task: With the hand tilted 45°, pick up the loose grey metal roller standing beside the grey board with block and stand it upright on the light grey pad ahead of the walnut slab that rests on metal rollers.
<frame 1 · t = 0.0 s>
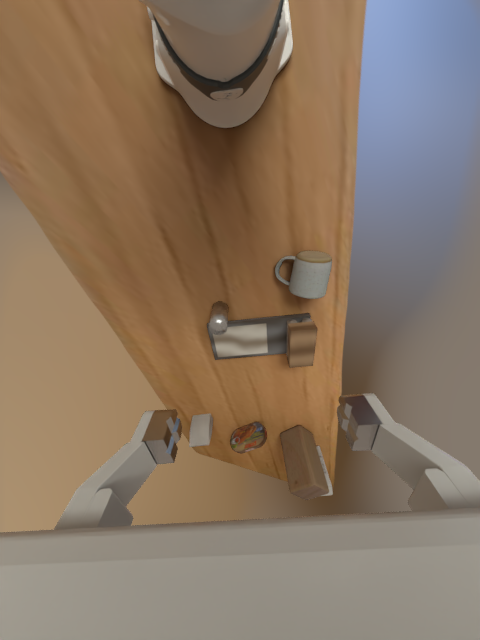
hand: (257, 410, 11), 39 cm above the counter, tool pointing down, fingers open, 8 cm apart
supplement box: (310, 451, 96), on the counter
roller: (220, 308, 53), on the counter
grey board with block: (259, 336, 58), on the counter
tea bag: (203, 416, 79), on the counter
tin: (247, 426, 84), on the counter
wooden block: (296, 432, 87), on the counter
ceramic mug: (298, 268, 47), on the counter
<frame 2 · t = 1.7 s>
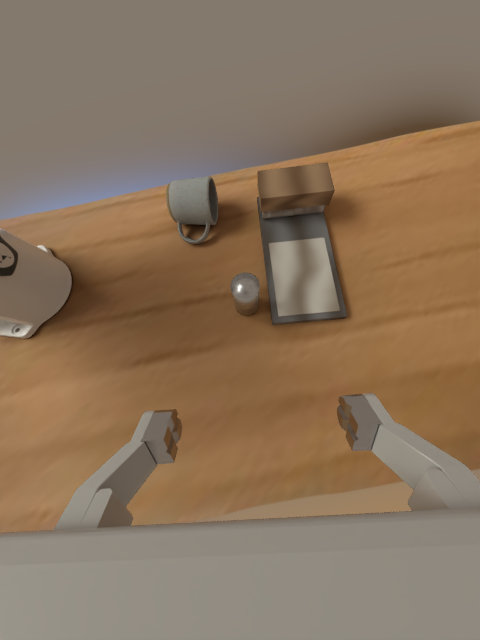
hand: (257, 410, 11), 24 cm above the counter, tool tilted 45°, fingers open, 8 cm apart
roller: (246, 305, 37), on the counter
grey board with block: (296, 254, 39), on the counter
ceramic mug: (199, 223, 43), on the counter
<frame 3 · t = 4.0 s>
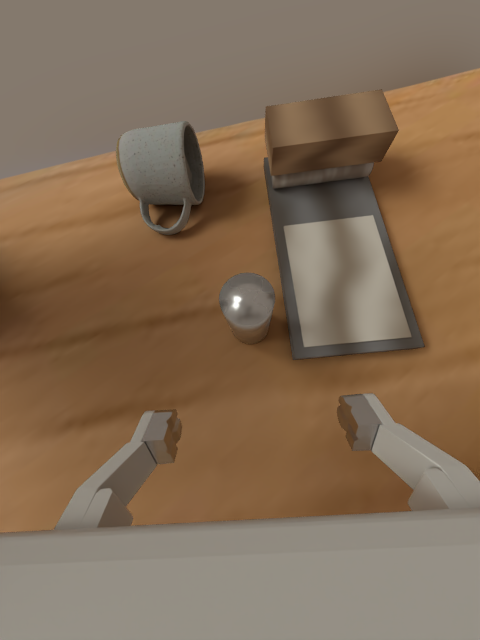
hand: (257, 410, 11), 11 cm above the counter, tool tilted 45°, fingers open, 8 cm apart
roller: (250, 325, 23), on the counter
grey board with block: (327, 243, 25), on the counter
ceramic mug: (176, 204, 29), on the counter
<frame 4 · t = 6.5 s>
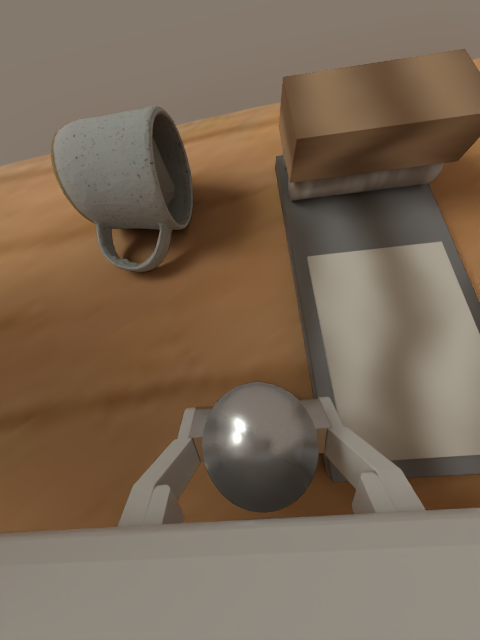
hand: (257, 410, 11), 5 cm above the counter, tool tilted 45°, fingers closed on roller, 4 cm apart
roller: (257, 411, 15), on the counter, touching gripper
grey board with block: (370, 280, 17), on the counter
ceramic mug: (154, 226, 21), on the counter
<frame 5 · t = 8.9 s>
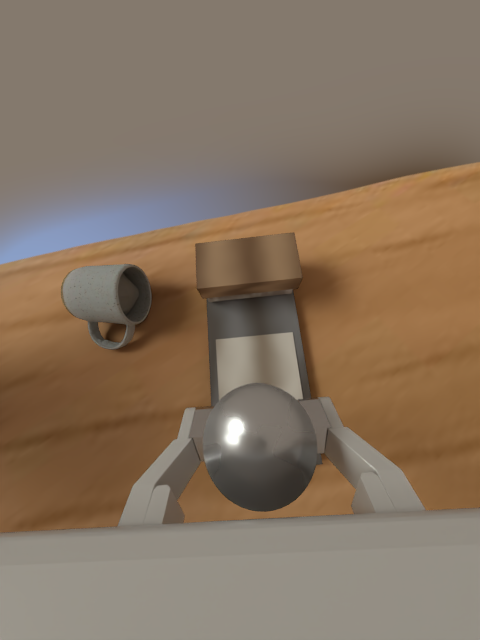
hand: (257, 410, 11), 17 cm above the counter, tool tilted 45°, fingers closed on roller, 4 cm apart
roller: (257, 411, 15), point 12 cm above the counter, touching gripper
grey board with block: (255, 352, 28), on the counter
ceramic mug: (126, 313, 31), on the counter
when the fingers open (7 cm above the counter, at t = 11.6 s): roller stays where it is, resting on grey board with block.
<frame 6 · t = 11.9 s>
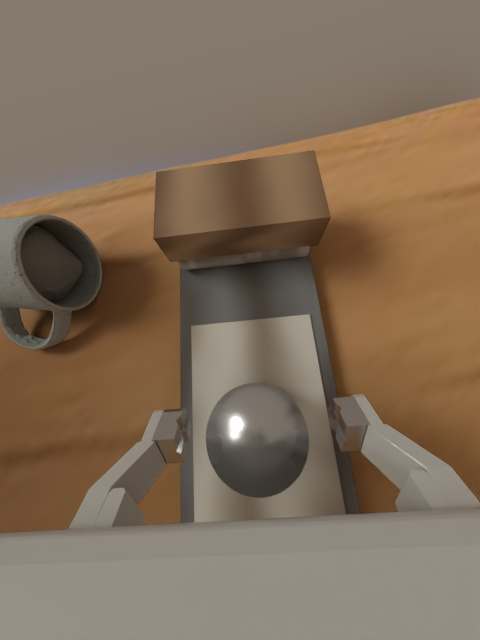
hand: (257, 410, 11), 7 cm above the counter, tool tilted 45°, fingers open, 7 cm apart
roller: (256, 410, 16), point 1 cm above the counter, touching grey board with block
grey board with block: (252, 346, 19), on the counter
ceramic mug: (67, 297, 22), on the counter
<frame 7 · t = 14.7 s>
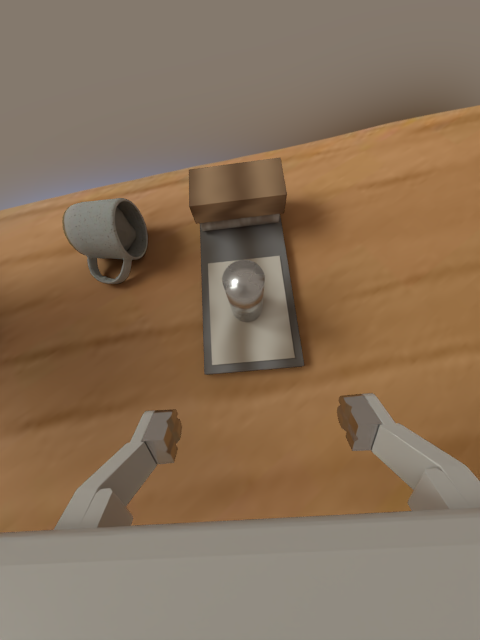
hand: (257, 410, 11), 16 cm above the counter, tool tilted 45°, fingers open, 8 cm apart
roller: (246, 307, 28), point 1 cm above the counter, touching grey board with block
grey board with block: (245, 277, 30), on the counter
ceramic mug: (124, 255, 33), on the counter
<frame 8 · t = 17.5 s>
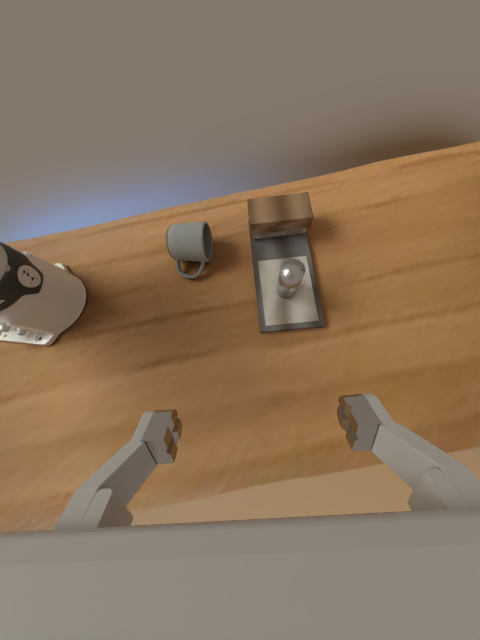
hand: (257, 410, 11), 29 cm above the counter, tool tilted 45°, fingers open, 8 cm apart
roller: (286, 289, 42), point 1 cm above the counter, touching grey board with block
grey board with block: (282, 270, 45), on the counter
ceramic mug: (195, 258, 48), on the counter
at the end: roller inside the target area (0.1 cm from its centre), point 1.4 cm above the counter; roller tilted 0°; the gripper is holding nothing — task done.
